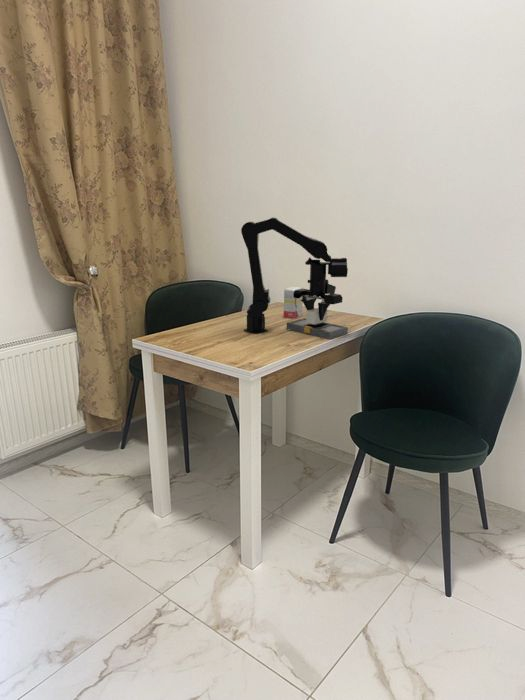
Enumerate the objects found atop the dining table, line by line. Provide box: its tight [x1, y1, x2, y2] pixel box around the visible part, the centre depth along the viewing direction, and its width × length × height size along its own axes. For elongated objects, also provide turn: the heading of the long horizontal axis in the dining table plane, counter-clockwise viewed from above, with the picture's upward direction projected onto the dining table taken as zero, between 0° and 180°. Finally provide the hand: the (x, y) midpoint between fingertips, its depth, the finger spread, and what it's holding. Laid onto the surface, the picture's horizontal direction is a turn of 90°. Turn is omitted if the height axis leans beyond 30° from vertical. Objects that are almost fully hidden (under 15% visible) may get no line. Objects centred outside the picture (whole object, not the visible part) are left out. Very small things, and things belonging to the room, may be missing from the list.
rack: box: [286, 317, 349, 340], centre depth 183 cm, size 11×20×3 cm, turn 45°
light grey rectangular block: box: [305, 307, 328, 325], centre depth 182 cm, size 7×4×4 cm, turn 134°
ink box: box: [283, 286, 304, 319], centre depth 207 cm, size 9×5×12 cm, turn 149°
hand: (316, 319), depth 183 cm, fingers closed on light grey rectangular block, 4 cm apart
